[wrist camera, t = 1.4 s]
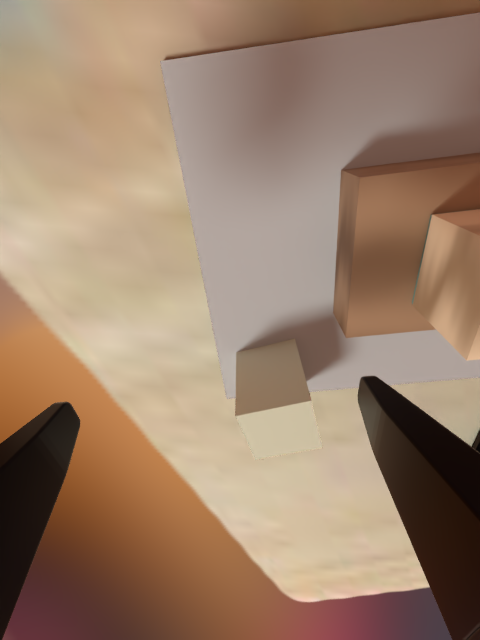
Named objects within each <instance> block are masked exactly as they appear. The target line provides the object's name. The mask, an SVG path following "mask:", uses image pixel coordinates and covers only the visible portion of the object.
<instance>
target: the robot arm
mask: <svg viewBox="0 0 480 640" xmlns="http://www.w3.org/2000/svg"><path fill="white" fill-rule="evenodd" d="M358 403H359V407H360V410H361V413H362V417H363V420H364V423H365V427H366V430H367V434H368V437H369V440H370V444H371V447H372V450H373V453H374V455H375V458H376V460H377V463H378V465H379V468H380V470H381V472H382V475H383V477H384V479H385V482H386V484H387V486H388V489H389V491H390V494H391V496H392V498H393V501H394V503H395V505H396V508H397V510H398V512H399V515H400V517H401V520H402V522H403V524H404V527H405V529H406V531H407V534H408V536H409V538H410V541H411V543H412V545H413V548H414V550H415V553H416V555H417V557H418V560H419V562H420V564H421V567H422V569H423V571H424V574H425V576H426V579H427V581H428V583H429V586H430V588H431V590H432V593H433V595H434V597H435V600H436V602H437V604H438V607H439V609H440V612H441V614H442V616H443V619H444V621H445V623H446V626H447V628H448V631H449V633H450V635H451V638H452V640H480V432H479V434H478V436H477V438H476V440H475V443H474V445H473V447H471V446H470V445H468V444H467V443H466V442H464V441H463V440H462V439H460V438H459V437H458V436H456V435H455V434H453V433H452V432H451V431H449V430H448V429H447V428H445V427H444V426H443V425H441V424H440V423H439V422H437V421H436V420H435V419H433V418H432V417H431V416H429V415H428V414H427V413H425V412H424V411H423V410H421V409H420V408H419V407H417V406H416V405H414V404H413V403H412V402H410V401H409V400H408V399H406V398H405V397H404V396H402V395H401V394H400V393H398V392H397V391H396V390H394V389H393V388H392V387H390V386H389V385H388V384H386V383H385V382H384V381H382V380H381V379H379V378H378V377H377V376H363V377H361V379H360V383H359V390H358ZM79 428H80V419H79V417H78V415H77V414H76V412H75V410H74V408H73V407H72V405H71V404H70V403H69V402H58V403H54V404H52V405H51V406H50V407H48V408H47V409H46V410H44V411H43V412H42V413H40V414H39V415H38V416H37V417H35V418H34V419H32V420H31V421H30V422H29V423H27V424H26V425H24V426H23V427H22V428H21V429H19V430H18V431H17V432H15V433H14V434H13V435H11V436H10V437H9V438H7V439H6V440H5V441H3V442H2V443H1V444H0V640H2V638H3V636H4V633H5V631H6V628H7V626H8V623H9V621H10V618H11V615H12V613H13V610H14V608H15V605H16V602H17V600H18V597H19V595H20V592H21V589H22V587H23V585H24V582H25V579H26V577H27V574H28V572H29V569H30V567H31V564H32V561H33V559H34V556H35V554H36V551H37V549H38V546H39V543H40V541H41V538H42V536H43V533H44V530H45V528H46V525H47V523H48V520H49V518H50V515H51V513H52V510H53V507H54V505H55V502H56V500H57V497H58V494H59V492H60V489H61V487H62V484H63V482H64V479H65V476H66V473H67V470H68V467H69V464H70V460H71V456H72V453H73V449H74V446H75V442H76V438H77V435H78V431H79Z"/></svg>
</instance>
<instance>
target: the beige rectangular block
mask: <svg viewBox="0 0 480 640" xmlns="http://www.w3.org/2000/svg"><path fill="white" fill-rule="evenodd" d="M235 416H236V419H237V421H238V423H239V425H240V427H241V430H242V432H243V434H244V436H245V439H246V441H247V443H248V445H249V447H250V450H251V452H252V454H253V456H254V458H255V460H259V459H264V458H270V457H276V456H281V455H287V454H292V453H298V452H303V451H309V450H314V449H320V448H323V446H322V442H321V437H320V433H319V429H318V425H317V421H316V417H315V413H314V409H313V405H312V401H311V397H310V393H309V389H308V386H307V382H306V378H305V375H304V371H303V367H302V363H301V360H300V356H299V352H298V348H297V345H296V341H295V339H291V340H287V341H282V342H278V343H274V344H270V345H266V346H261V347H257V348H253V349H249V350H245V351H240V352H236V408H235Z"/></svg>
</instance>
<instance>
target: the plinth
mask: <svg viewBox="0 0 480 640" xmlns="http://www.w3.org/2000/svg"><path fill="white" fill-rule="evenodd" d="M474 209H480V152H479V153H471V154H463V155H456V156H448V157H440V158H432V159H424V160H416V161H408V162H400V163H392V164H384V165H376V166H369V167H361V168H353V169H345V170H341V179H340V197H339V215H338V233H337V251H336V269H335V286H334V304H333V314H334V316H335V318H336V320H337V322H338V324H339V325H340V327H341V329H342V331H343V333H344V335H345V337H346V338H352V337H363V336H373V335H384V334H394V333H405V332H416V331H426V330H436V329H435V328H434V327H433V326H432V325H431V324H430V323H429V322H428V321H427V320H426V319H425V318H424V317H423V316H422V315H421V314H420V313H419V312H418V311H417V310H416V309H415V308H414V307H413V306H412V305H413V304H412V300H413V295H414V290H415V286H416V281H417V276H418V272H419V267H420V262H421V258H422V253H423V248H424V244H425V239H426V234H427V229H428V225H429V220H430V215H431V214H440V213H448V212H457V211H466V210H474Z"/></svg>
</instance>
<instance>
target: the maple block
mask: <svg viewBox="0 0 480 640" xmlns="http://www.w3.org/2000/svg"><path fill="white" fill-rule="evenodd" d="M412 304H413V305H412V306H413V307H414V308H415V309H416V310H417V311H418V312H419V313H420V314H421V315H422V316H423V317H424V318H425V319H426V320H427V321H428V322H429V323H430V324H431V325H432V326H433V327H434V328H435V329H436V330H437V331H438V332H439V333H440V334H441V335H442V336H443V337H444V338H445V339H446V340H447V341H448V342H449V343H450V344H451V345H452V346H453V347H454V348H455V349H456V350H457V351H458V352H459V353H460V354H461V355H462V356H463V357H464V358H465V359H466V361H468V360H479V359H480V209H474V210H466V211H457V212H448V213H440V214H431V215H430V220H429V225H428V229H427V234H426V239H425V244H424V248H423V253H422V258H421V262H420V267H419V272H418V276H417V281H416V286H415V290H414V295H413V300H412Z"/></svg>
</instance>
